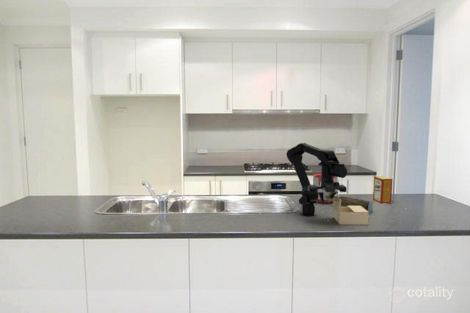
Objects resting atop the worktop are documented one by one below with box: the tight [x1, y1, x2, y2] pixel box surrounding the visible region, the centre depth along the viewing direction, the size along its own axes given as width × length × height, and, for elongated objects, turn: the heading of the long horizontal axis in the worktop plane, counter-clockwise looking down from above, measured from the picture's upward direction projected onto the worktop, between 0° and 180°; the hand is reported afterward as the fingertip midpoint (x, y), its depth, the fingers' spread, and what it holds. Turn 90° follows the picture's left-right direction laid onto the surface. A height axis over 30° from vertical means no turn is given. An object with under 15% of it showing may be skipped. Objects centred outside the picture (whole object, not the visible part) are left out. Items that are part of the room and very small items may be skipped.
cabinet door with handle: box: [324, 194, 341, 213], centre depth 159 cm, size 7×11×6 cm
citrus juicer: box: [312, 173, 338, 204], centre depth 196 cm, size 16×17×20 cm
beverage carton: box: [338, 196, 374, 214], centre depth 179 cm, size 8×19×7 cm, turn 49°
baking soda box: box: [372, 175, 393, 205], centre depth 196 cm, size 10×6×16 cm
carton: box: [333, 206, 370, 226], centre depth 159 cm, size 14×11×7 cm
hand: (326, 204), depth 159 cm, fingers open, 3 cm apart
